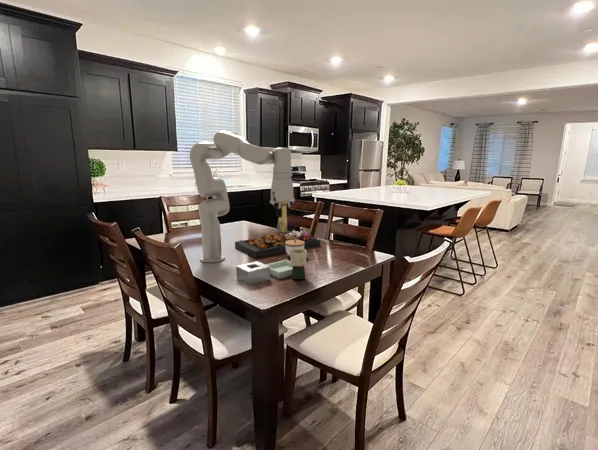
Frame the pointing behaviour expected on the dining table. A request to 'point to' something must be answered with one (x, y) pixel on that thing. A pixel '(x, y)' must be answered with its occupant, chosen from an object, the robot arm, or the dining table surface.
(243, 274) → the white square-hole block
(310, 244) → the food platter
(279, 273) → the tray
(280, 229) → the pin
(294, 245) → the lidded jar
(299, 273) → the character mug
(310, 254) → the dining table surface
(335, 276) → the dining table surface
